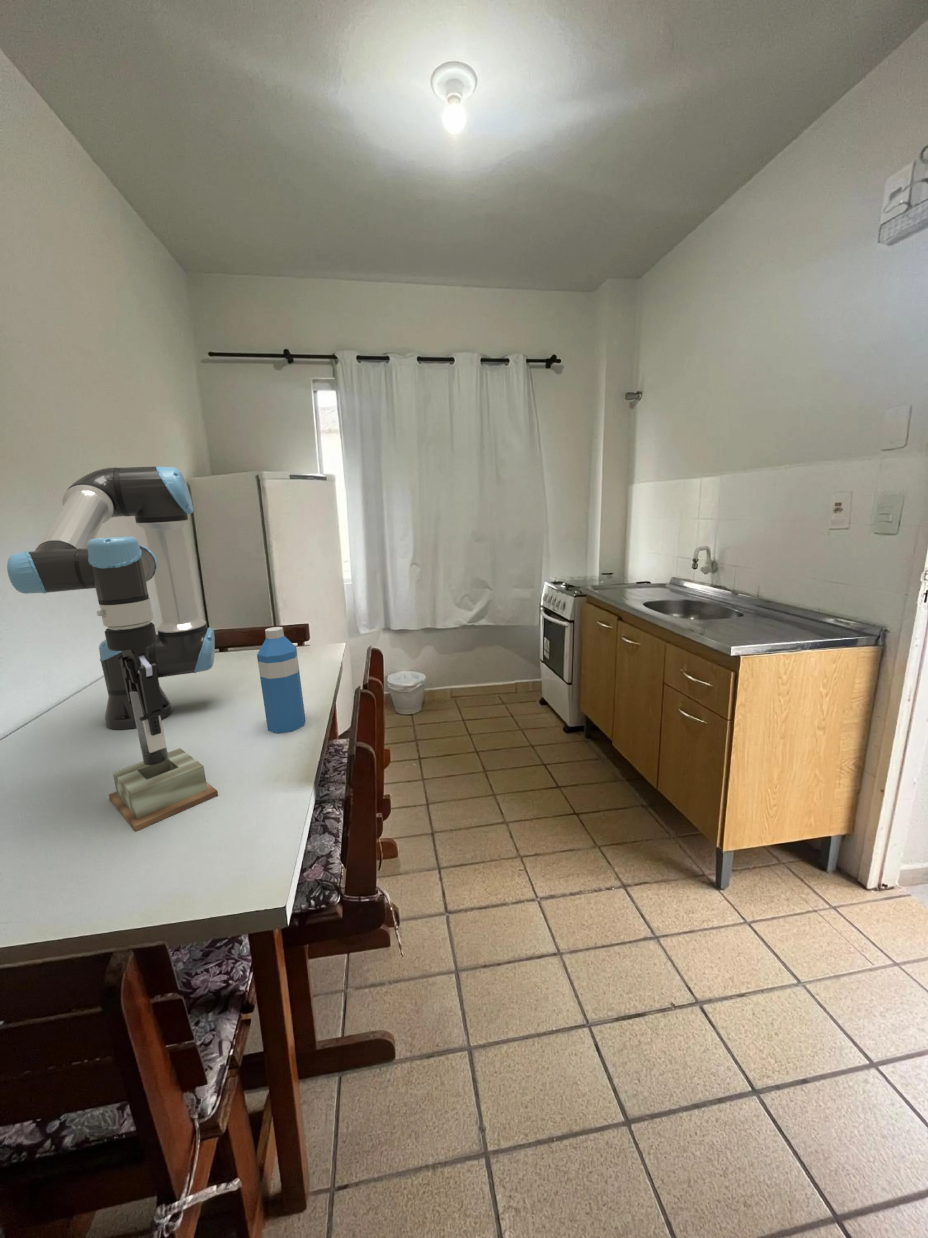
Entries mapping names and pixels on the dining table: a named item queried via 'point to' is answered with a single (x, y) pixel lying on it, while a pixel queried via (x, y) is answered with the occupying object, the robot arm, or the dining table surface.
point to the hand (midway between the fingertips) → (153, 745)
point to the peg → (148, 757)
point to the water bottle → (280, 682)
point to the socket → (160, 789)
